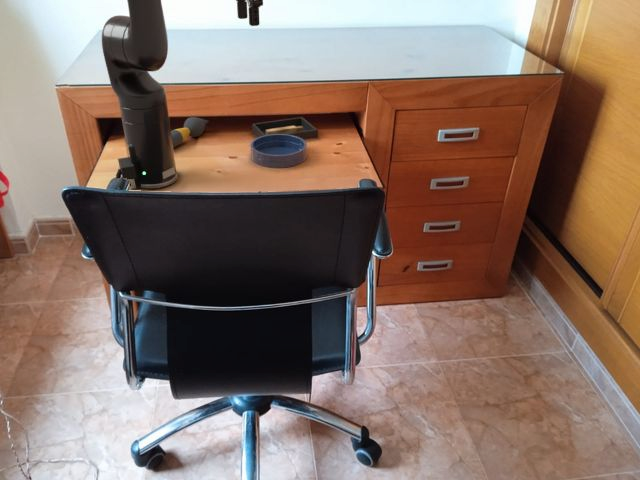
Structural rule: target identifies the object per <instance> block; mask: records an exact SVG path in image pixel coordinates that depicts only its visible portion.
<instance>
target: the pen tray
mask: <svg viewBox="0 0 640 480" xmlns="http://www.w3.org/2000/svg"><path fill="white" fill-rule="evenodd" d="M288 126H295V127H298V126H302V127H303V131H298V132H294V133H287V134H288V135H293V136H297V137H300V138H302V139H303V140H304V141H305V140H310V139H315V138H319V137H318V136H319V132H318V131H319V129H318V128H316V127H315V126H314V125H313V124H311V123H310V122H309V120H306V119H305V118H304V117H303V116H299V117H292V118H284V119H277V120H271V121H264V122H257V123H251V129H252V133H253V134H254V135H255V136H256V138H258V137H261V136H264V135H266V130H267V129H274V128H281V127H288Z"/></svg>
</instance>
